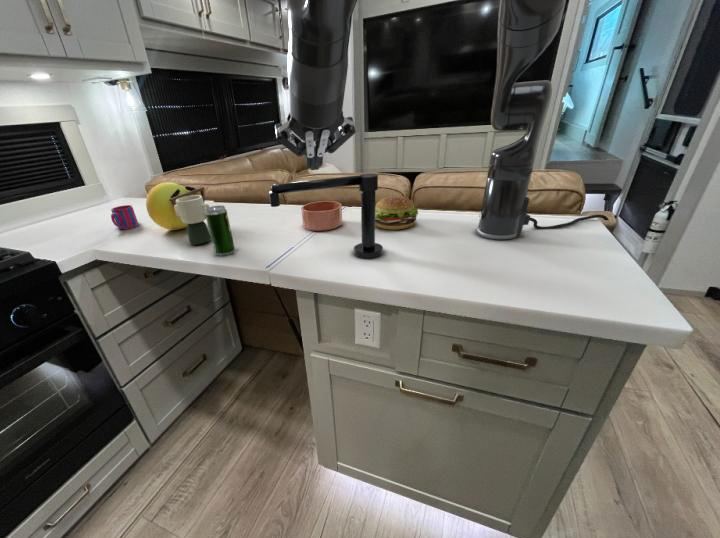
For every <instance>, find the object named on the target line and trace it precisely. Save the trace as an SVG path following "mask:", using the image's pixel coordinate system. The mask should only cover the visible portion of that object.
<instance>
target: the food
mask: <svg viewBox="0 0 720 538" xmlns="http://www.w3.org/2000/svg"><path fill="white" fill-rule="evenodd" d="M418 216H419V210H418V207H417V206H416V204H414V202H413V200H412V199H410V198H409V197H406V196H401V195H391V196H386V197H383V198H381V199H380V200H379V201H378V202H375V227H378V228H379V229H383V230H393V231H395V230H397V231H398V230H402V229H403V230H404V229H407V228H410V227H412V226H414V224H415V222H416V220H417V217H418Z"/></svg>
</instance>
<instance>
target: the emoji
mask: <svg viewBox="0 0 720 538" xmlns="http://www.w3.org/2000/svg"><path fill="white" fill-rule="evenodd" d="M191 195H200V196H202V198H203V202H204V203H205V201H206V195H205V186H201V187H198V188H195V187H192V186H189V185H186V186H185V187H184V186H183V185H181V184H179V183H176V182H169V181H168V182H167V181H166V182H161V183H158V184H157V185H154V186H153V187H152V188H151V189H150V190H149V192H148V193H147V195H146V200H145V208H146V211H147V214H148V216H149V217H150V219H151V220H152V221H153V222H154V223H155V224H157V225H158V226H159V227H160V228H163V229H166V230H169V231H178V230H182V229H185V228H187V225H188V224H186V223H183V222H182V219H181V216H177V215H176V213H175V209H174V205H177V202H176V200H177V199H178V198H181V197H185V196H191ZM178 210H179V209H178Z"/></svg>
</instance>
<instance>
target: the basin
mask: <svg viewBox="0 0 720 538" xmlns="http://www.w3.org/2000/svg"><path fill="white" fill-rule="evenodd" d="M300 209H301V219H302V226H303V228H304V229H307V230H309V231H314V232H326V231H331V230H335V229H337V228H338V227H340V226H341V225H342V224H343V205H342V203H341V202H339V201H335V200H334V201H333V200H321V201H320V200H319V201H313V202H309V203H306V204H304V205H302V207H301V208H300Z"/></svg>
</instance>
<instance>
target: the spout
mask: <svg viewBox="0 0 720 538" xmlns="http://www.w3.org/2000/svg"><path fill="white" fill-rule="evenodd" d="M354 186H355V187H356V186H358V191H359V192H361V191H363V192H370V191H375V192H376V191H377V190H378V189H379V175H378V173H363V174H359V175H351V176H341V177H340V176H339V177H330V178H321V179H320V178H319V179H312V180H302V181H294V182H284V183H283V182H282V183H275V184H272V185H271V186H270V191H269V192H268V196H269V203H270V207H272V208H276V207H280V206H281V202H280V195H279V194H290V193H299V192H308V191H309V192H310V191H316V190H317V191H318V190H326V189H337V188H345V187H354Z"/></svg>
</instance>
